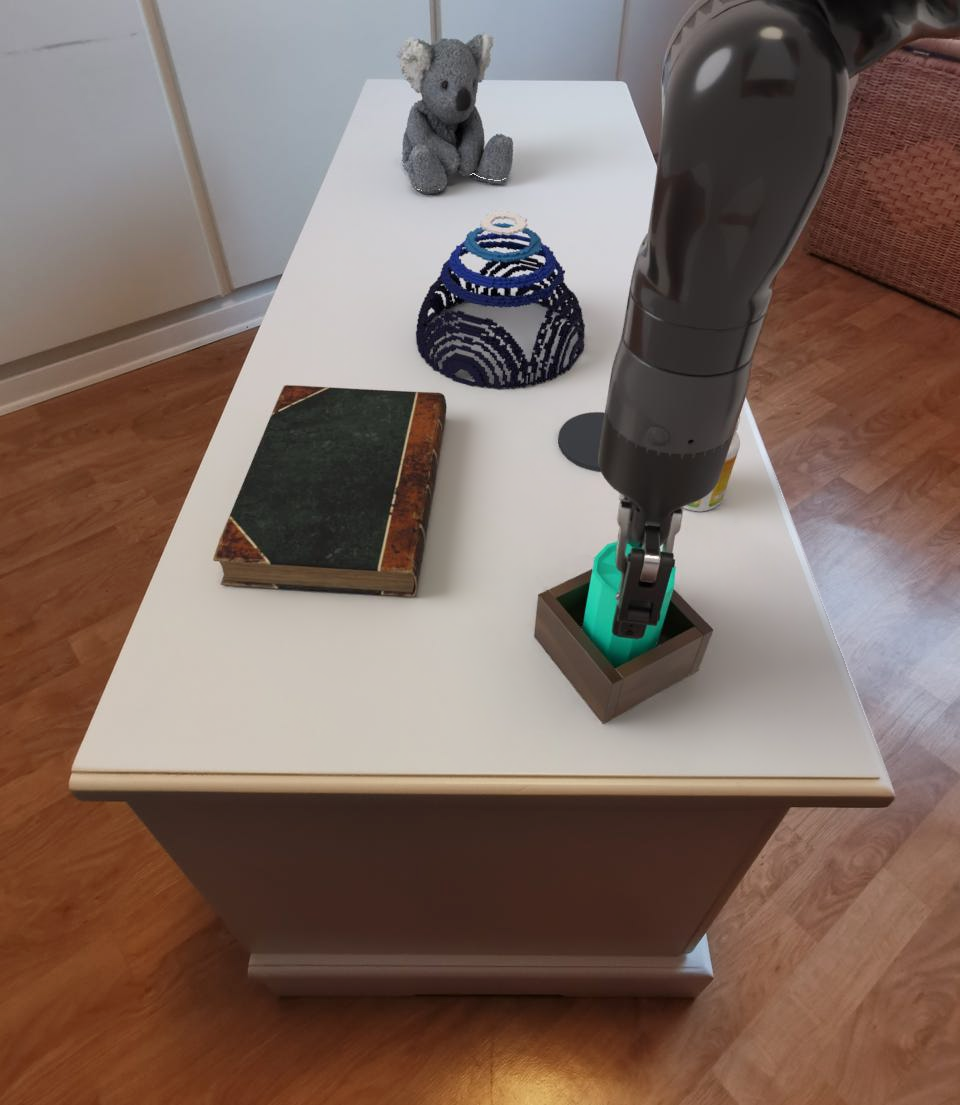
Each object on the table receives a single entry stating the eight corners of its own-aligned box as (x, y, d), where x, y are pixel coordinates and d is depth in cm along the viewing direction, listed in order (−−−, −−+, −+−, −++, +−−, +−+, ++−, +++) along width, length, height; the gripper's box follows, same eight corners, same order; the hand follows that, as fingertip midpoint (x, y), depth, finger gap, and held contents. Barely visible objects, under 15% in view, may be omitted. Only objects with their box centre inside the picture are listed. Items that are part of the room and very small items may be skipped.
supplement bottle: (714, 474, 78) (738, 394, 70) (729, 511, 74) (756, 431, 67) (661, 476, 77) (680, 396, 70) (673, 514, 74) (695, 434, 67)
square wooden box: (625, 591, 67) (634, 548, 63) (698, 670, 62) (714, 629, 58) (533, 636, 64) (537, 594, 60) (602, 724, 58) (612, 684, 54)
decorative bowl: (385, 360, 91) (374, 241, 80) (463, 283, 103) (461, 171, 92) (542, 407, 85) (552, 285, 74) (605, 319, 97) (621, 204, 86)
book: (289, 410, 84) (219, 586, 67) (282, 383, 82) (209, 558, 65) (447, 419, 83) (418, 598, 67) (447, 391, 81) (416, 571, 64)
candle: (610, 697, 60) (633, 600, 51) (562, 644, 63) (577, 545, 55) (667, 662, 62) (699, 563, 53) (618, 612, 66) (641, 512, 57)
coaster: (609, 407, 85) (610, 402, 84) (662, 453, 80) (663, 448, 79) (541, 433, 82) (541, 428, 81) (591, 483, 77) (592, 478, 76)
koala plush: (415, 201, 120) (407, 56, 105) (381, 158, 131) (370, 22, 116) (518, 184, 124) (524, 43, 110) (476, 144, 135) (477, 11, 121)
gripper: (746, 499, 40) (682, 675, 52) (731, 346, 49) (680, 524, 61) (599, 482, 40) (569, 659, 52) (612, 334, 50) (585, 513, 62)
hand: (629, 586), depth 57 cm, fingers open, 8 cm apart
